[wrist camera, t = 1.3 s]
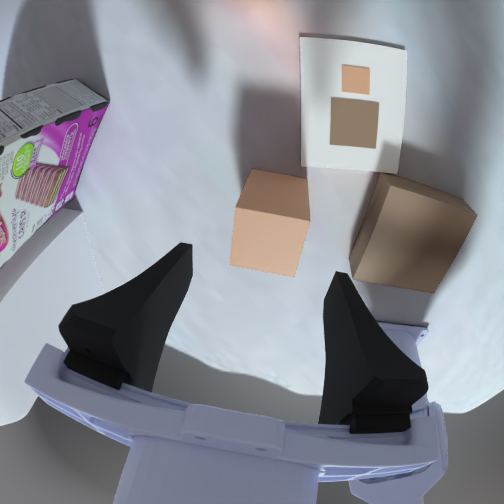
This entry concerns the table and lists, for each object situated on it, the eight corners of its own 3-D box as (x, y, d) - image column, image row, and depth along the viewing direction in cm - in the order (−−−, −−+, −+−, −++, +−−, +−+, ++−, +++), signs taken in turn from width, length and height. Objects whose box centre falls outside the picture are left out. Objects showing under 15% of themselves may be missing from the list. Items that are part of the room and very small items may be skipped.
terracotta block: (296, 225, 22) (294, 277, 17) (245, 216, 22) (229, 265, 17) (307, 179, 19) (310, 221, 15) (251, 168, 20) (235, 207, 15)
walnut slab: (423, 271, 23) (433, 293, 21) (348, 255, 23) (352, 279, 21) (460, 196, 18) (477, 215, 16) (378, 169, 18) (390, 185, 16)
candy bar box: (76, 200, 23) (-37, 322, 10) (44, 175, 22) (-72, 279, 9) (116, 100, 17) (-80, 206, 4) (76, 75, 16) (-105, 154, 3)
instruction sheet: (395, 172, 18) (397, 174, 18) (300, 165, 19) (300, 166, 19) (405, 50, 12) (407, 50, 12) (299, 37, 13) (299, 36, 13)
